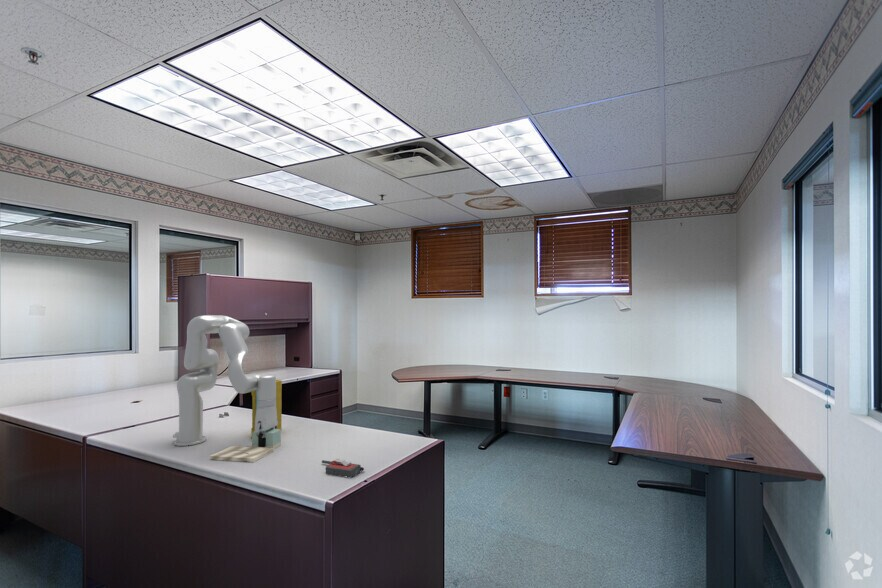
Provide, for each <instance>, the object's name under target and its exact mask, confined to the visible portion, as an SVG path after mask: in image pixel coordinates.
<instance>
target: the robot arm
mask: <svg viewBox="0 0 882 588" xmlns="http://www.w3.org/2000/svg"><path fill="white" fill-rule="evenodd" d="M207 334H218V335H219V338H220V341H221V343H222V345H223V347H224V349H225V352H226V354H227V356H228V359H229V361H228V365H227V376H228V379H229V381H230V383H231V386H232V387H233V389H234V390H235V391H236V393H238V394H242V395H243V394H247V393H252V391H256V390H258V408H257V410H256V416H255V431H254V432H255V434H256V435H257V438H258V447H265V446H266V438H265V433H266V430H269V429H276V428H277V425H278V421H277V410H276V380H277V377H276V375H274V374H262V373H252V374H245V372H244V370H243V367H242V362H243V360H244V359H245V357H246V356H247V355H248V354H249V352H250V350H249V348H248V345H247V343H246V341H245V340H246V339H247V338H248V337H249V336H250V329H249V326H248V325H247V324H246V323H244V322H243V321H240V320H238V319H235V318H232V317H230V316H228V315H219V314H218V315H216V314H215V315H212V314H205V315H198V316H195V317H193V318H192V319H191V320H189V322H188V324H187V328H186V344H185V351H184V359H183V366H184V369H186V370H187V371H191V372H190V373H186V374H183V375H182V376H181V377H179V378H178V380H177V383H176V390H177V395H178V431H177V432H174V434H173V435H172V438H176V440H175V441H174V445H175V446H176V447H177V446H179V447H189V446H194V445H199V444H201V443H204V442H205V441H207V437H206V436H205V435H203V434H204V433H203V431H204V430H203V427H204V425H203V424H204V422H203V421H204V400H203V398H202V396H201V394H200V393H203V392H207V391H211V390H212V389H213V388H215V386H216V383H217V379H218V372H219V365H220V358H219V354H218V352H217V350H215V349H213V348H208V338H207ZM193 371H195V372H193ZM261 429H263V430H261ZM261 432H263V434H262V433H261ZM188 445H189V446H188Z"/></svg>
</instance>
